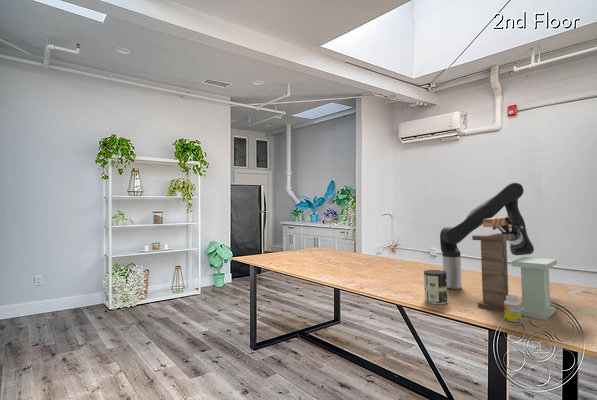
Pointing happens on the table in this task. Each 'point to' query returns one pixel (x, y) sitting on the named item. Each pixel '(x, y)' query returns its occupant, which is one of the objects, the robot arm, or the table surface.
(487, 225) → the block
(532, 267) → the low stand
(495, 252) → the tall stand
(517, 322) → the supplement bottle
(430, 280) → the coffee can
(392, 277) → the table surface
